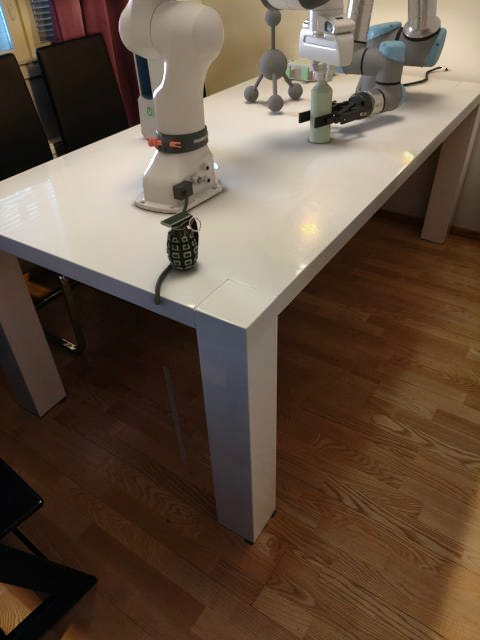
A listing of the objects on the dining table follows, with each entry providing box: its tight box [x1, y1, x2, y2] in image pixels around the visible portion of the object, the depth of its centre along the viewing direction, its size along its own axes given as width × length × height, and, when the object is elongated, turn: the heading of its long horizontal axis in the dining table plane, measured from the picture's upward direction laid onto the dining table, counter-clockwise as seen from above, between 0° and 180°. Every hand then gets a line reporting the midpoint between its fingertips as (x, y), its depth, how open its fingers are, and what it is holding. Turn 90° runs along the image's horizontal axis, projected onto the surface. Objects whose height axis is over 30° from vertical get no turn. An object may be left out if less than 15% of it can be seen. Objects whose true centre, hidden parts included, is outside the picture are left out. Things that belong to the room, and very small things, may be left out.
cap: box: [315, 70, 327, 80], centre depth 134 cm, size 4×4×2 cm
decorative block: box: [285, 57, 328, 82], centre depth 209 cm, size 26×6×20 cm
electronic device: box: [132, 52, 165, 140], centre depth 143 cm, size 12×8×30 cm, turn 47°
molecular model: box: [243, 9, 304, 113], centre depth 169 cm, size 24×22×30 cm
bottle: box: [309, 80, 334, 144], centre depth 139 cm, size 6×6×18 cm
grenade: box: [159, 211, 202, 271], centre depth 88 cm, size 7×6×10 cm
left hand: (322, 79), depth 135 cm, fingers closed on cap, 4 cm apart
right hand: (307, 120), depth 138 cm, fingers closed on bottle, 6 cm apart
